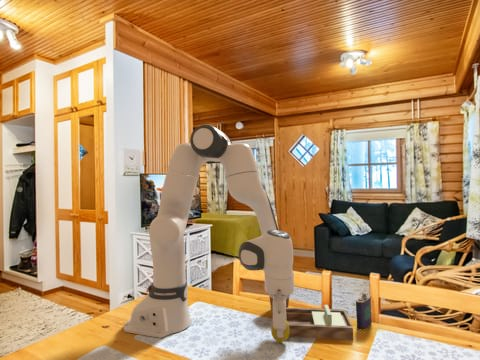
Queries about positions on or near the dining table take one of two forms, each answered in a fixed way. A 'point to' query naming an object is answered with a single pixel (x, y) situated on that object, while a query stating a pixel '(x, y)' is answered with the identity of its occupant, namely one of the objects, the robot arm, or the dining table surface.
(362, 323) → the flask
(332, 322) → the cover
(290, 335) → the wooden tray
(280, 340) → the lemon
